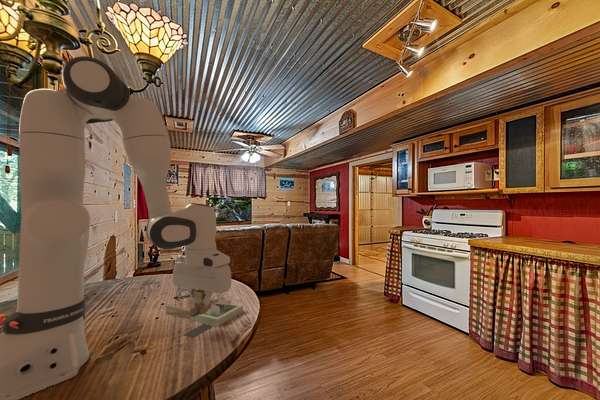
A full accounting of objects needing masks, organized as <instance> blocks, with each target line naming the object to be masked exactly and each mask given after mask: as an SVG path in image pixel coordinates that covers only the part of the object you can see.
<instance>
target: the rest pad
mask: <svg viewBox="0 0 600 400" xmlns="http://www.w3.org/2000/svg"><path fill="white" fill-rule="evenodd" d="M213 327H214V325H211V324H207V323H202V324H200V325H199V326H196V327H195V328H193V329H191V330H190V331H187V332H185V333H184V334H183V336H184V337H187V338H190V339H191V338H192V339H194V338H195V337H198V336H199V335H201V334H202V333H205V332H206V331H208V330H210V329H211V328H213Z"/></svg>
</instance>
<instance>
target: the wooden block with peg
mask: <svg viewBox="0 0 600 400" xmlns="http://www.w3.org/2000/svg"><path fill="white" fill-rule="evenodd" d="M205 296H206V294H205V291H204V290H198V289H197V290H196V291H194V303H193V307H191V308H189V309H190V317H195V316H197V315H199V314H200V315H202V314H204V313H206V312H208V310H209V309H211V301H210V304H209V305H207V306H206V305H202V299H204V298H205Z"/></svg>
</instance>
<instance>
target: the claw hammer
mask: <svg viewBox="0 0 600 400" xmlns="http://www.w3.org/2000/svg"><path fill="white" fill-rule="evenodd" d="M187 297H191V296H190V294H189V293H188V294H185V295H184V294H183V295H181V296H173V299H174V300H175V301H177V302H178V301H181V300H183V299H186V298H187Z"/></svg>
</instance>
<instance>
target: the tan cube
mask: <svg viewBox="0 0 600 400" xmlns="http://www.w3.org/2000/svg"><path fill="white" fill-rule="evenodd" d="M204 314H205V315H210V316H214V317H219V316H221V315H220V307H219V306H216V305H213V304H212V305H211V309H209V310H208V312H206V313H204Z"/></svg>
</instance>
